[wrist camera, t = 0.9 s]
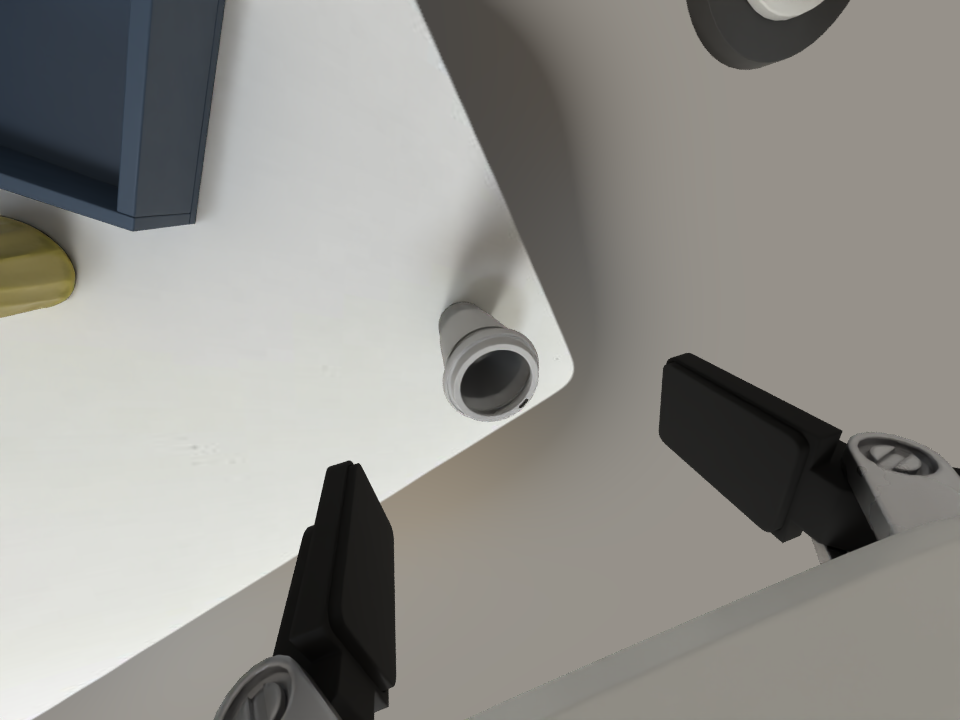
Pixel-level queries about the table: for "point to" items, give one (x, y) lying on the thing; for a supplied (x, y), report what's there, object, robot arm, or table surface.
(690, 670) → the robot arm
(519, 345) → the cup
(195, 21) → the bin
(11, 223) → the vase
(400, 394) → the table surface
